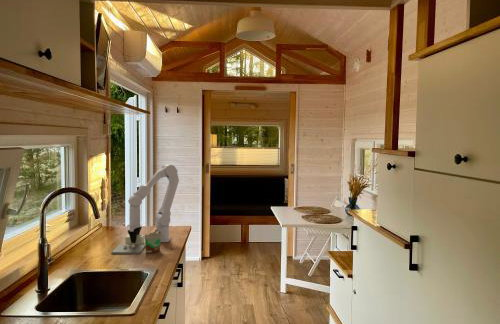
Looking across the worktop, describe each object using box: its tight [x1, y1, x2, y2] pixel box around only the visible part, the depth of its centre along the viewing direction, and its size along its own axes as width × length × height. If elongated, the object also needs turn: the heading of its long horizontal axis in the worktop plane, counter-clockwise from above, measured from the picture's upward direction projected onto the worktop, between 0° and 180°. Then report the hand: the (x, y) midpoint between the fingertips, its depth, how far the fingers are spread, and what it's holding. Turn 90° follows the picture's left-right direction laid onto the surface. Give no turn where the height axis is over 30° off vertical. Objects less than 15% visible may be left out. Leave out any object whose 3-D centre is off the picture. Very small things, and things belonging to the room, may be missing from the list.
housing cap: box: [124, 234, 145, 245], centre depth 205 cm, size 5×9×4 cm, turn 94°
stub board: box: [111, 244, 146, 255], centre depth 193 cm, size 14×14×3 cm
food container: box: [144, 229, 162, 255], centre depth 192 cm, size 12×6×10 cm, turn 168°
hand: (134, 241), depth 205 cm, fingers open, 5 cm apart
